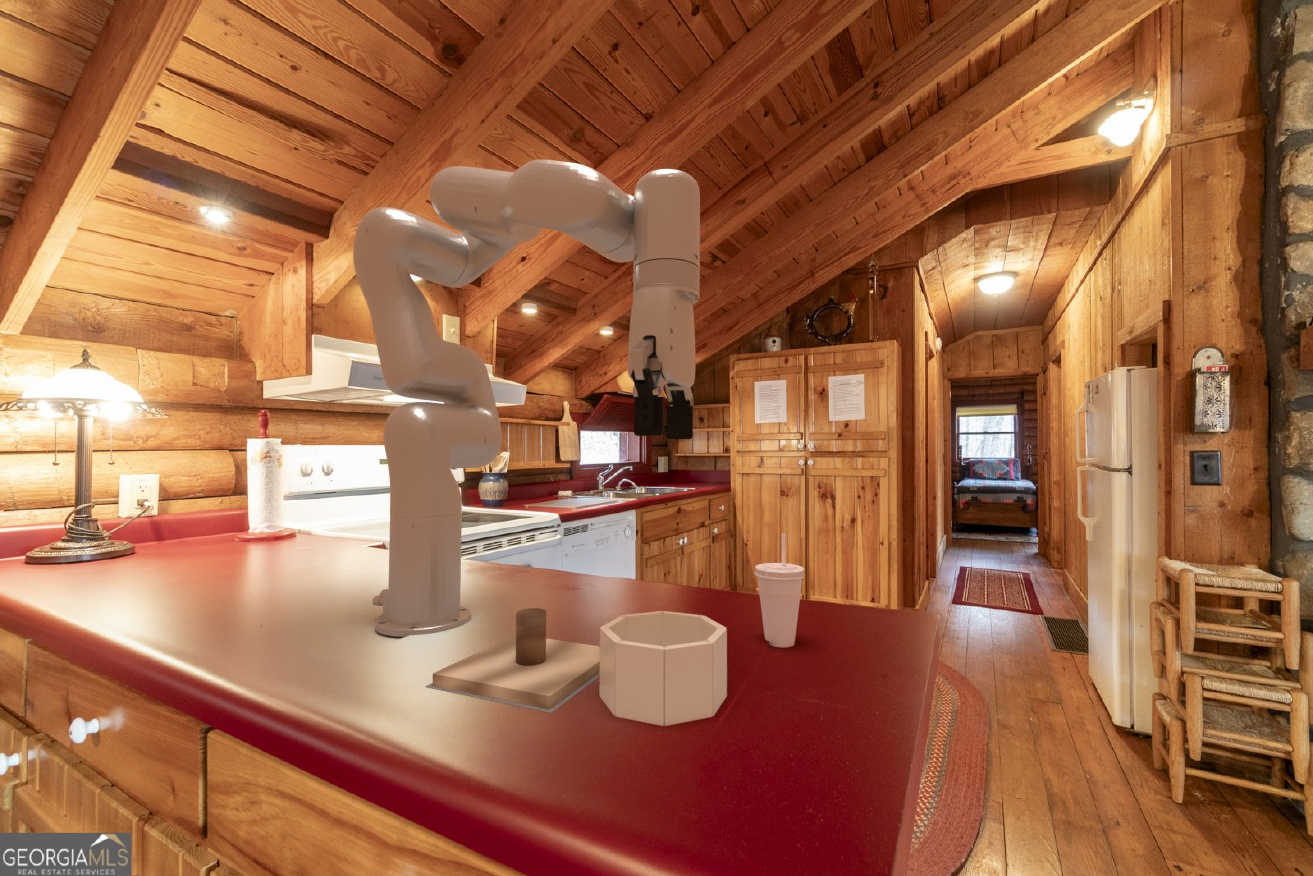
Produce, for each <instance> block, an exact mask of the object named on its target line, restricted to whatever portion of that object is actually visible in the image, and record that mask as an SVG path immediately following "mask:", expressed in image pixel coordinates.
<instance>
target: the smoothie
mask: <svg viewBox="0 0 1313 876" xmlns="http://www.w3.org/2000/svg"><path fill="white" fill-rule="evenodd" d="M754 575H755V576H757V585H758V594H759V599H760V600H759V601H760V609H761V616H762V626H763V634H764V640H766V641H767V642H768V643H767V644H768V646H771V647H774V648H790V647H793V646H795V644H796V643H795V642H796V636H797V625H798V618H799V608H800V600H801V592H802V582H803V578H805V576H806V574H805V568H804V567H803V566H801V565H798V564H793V563H787V534H786V533H781V562H765V563H760V564H757V565H755V566H754Z"/></svg>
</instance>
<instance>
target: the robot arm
mask: <svg viewBox="0 0 1313 876" xmlns="http://www.w3.org/2000/svg"><path fill="white" fill-rule="evenodd" d="M700 194H701V193H700V186H699V184H698V182H697V181H696V179H695V178H694V177H693V176H692V175H691V174H689V173H687V172H685V171H682V170H679V169H675V168H661V169H655V170H651V171H649V172H647V173H645V174H644V175H643V176H641V177H640V178H639V180H637V182H636V185H635V188H634V195H632V194H629V193H627V192H624V191H623V190H622V189H621V188H620V187H619V186H617V185H616V183H614V182H613V181H611V180H610V179H609V178H607V177H606V176H605V175H604V174H603V173H602V172H600V171H597V170H595V169H594V168H592V167H591V166H590V167H589V166H587V165H584V164H582V163H581V164H580V163H575V162H571V161H563V160H562V161H561V160H552V159H534V160H531V161H529V162H527V163H525V164H524V165H522V166H520V167H519V168H517V169H516V170H514V171H507V170H506V171H504V170H499V169H498V170H497V169H489V168H481V167H472V166H465V165H456V166H454V165H453V166H449V167H445V168H443V169H442V170H440V171H439V172H437V173H436V174H435V175H434V177H433V178H432V180H431V182H430V186H429V200H430V204H431V206H432V208H433V210H434V211H435V213H436V214H437V216H438V217H439V218H440V219H441V220H442V221H444V223H446V224H447V225H448V226H450V227H452V228H453V229H455V230H458V231H460V232H459V233H456V232H454V231H452V230H450V229H449V228H445V227H443V226H441V225H439V224H437V223H435V222H433V221H430V220H429V219H427V218H424V217H422V216H420V215H418V214H415V213H412V212H410V211H407V210H404V209H402V208H397V207H389V206H383V207H382V206H380V207H376V208H373V209H370V210H369V211H368V212H367V213H366V214H364V215H363V217H362V218H361V220H360V222H359V223H358V226H357V228H356V231H355V235H354V240H353V245H352V246H353V247H352V259H353V260H352V261H353V267H354V272H355V276H356V278H357V282H358V285H359V287H360V290H361V292H362V295H363V298H364V300H365V302H366V303H365V304H366V305H367V308H368V311H369V314H370V318H371V323H372V324H371V325H372V329H373V335H374V340H375V344H376V348H377V355H378V358H379V363H380V368H381V372H382V376H383V380H384V382H385V384H386V386H387V388H388V389H389V391H391V392H392V393H394V394H395V395H397V396H400V397H404V398H407V399H415V400H420V401H415V402H408V403H405V404H402V405H400V406H398V407H396V408H395V409H393V411H391V413H390V414H389V415H388V417H387V418H386V420H385V423H384V427H383V445H384V451H385V455H386V461H387V467H388V476H389V541H388V542H389V545H388V547H389V551H388V554H389V555H388V588H387V589H386V588H384V589H383V590H381V591H380V592H379V594H378V595H374V597H373V598H372V601H371V603H372V604H373V606H378V607H382V615H381V616H378V618H377V619H375V623H374V630H375V631H376V632H377V633H379V635H384V636H389V637H398V638H406V637H409V636H420V635H428V634H429V635H430V634H435V633H436V634H437V633H441V632H446V631H449V630H454V629H456V628H459V627H462V626H464V625H466V624H468V623H469V622H470V621H471V619H472V611H471V610H470V609H469V608H467V607H464V606H461V588H462V587H461V582H462V581H461V579H462V578H461V577H462V576H461V572H462V531H463V530H462V522H463V518H462V517H463V511H462V509H463V503H462V502H463V501H462V495H461V490H460V487H459V485H458V483H457V480H456V478H455V476H454V474H453V472H452V469H472V468H473V469H474V468H481V467H485V466H488V465H489V464H491V463H492V462H494V461H495V460H496V458H497V457H498V454H500V451H501V447H502V442H503V437H502V436H503V435H502V426H501V421H500V415H499V412H498V408H497V404H496V399H495V395H494V391H493V388H492V383H491V378H490V375H489V372H488V369H487V367H486V364H485V362H484V360H483V359H482V357H481V356H480V355H479V354H478V353H477V352H476V351H474V350H473V349H472V348H470V347H468V346H465V345H463V344H459V343H455V342H451V341H447V340H444V338H442V337H440V335H439V333H438V330H437V327H436V326H435V322H434V316H433V312H432V308H431V306H430V303H429V301H428V300H427V298H426V296H425V295H424V292H423V291H422V290H421V289H420V288H419V286H418V285H417V284H416V282H415V280H413V278H412V277H411V275H412V276H415V277H417V278H421V279H423V280H427V281H429V282H431V283H435V284H438V285H441V286H444V287H446V288H447V287H448V288H453V289H454V288H461V287H462V288H463V287H465V286H467V285H469V284H471V283H472V282H474V281H475V280H476V279H478V278H479V277H480V276H481V275H482V274H484V273H485V272H487V271H488V270H489V269H490V268H491V267H493V266H494V265H496V264H497V263H498V262H499V261H501V259H503V258H504V257H505V256H507V255H508V254H509V253H510V252H512V250H514V249H515V247H517V246H518V245H519V243H527V242H531V241H532V240H534V239H536V238H537V237H538V236H539V234H540V233H542V231H543V229H546V230H552V231H556V232H558V233H559V232H560V233H562V234H565V235H567V236H569V237H570V238H572V239H574V240H576V241H577V242H580V243H582V245H585V247H586V246H587V247H588V248H590V249H591V250H593V251H594V252H596V253H597V254H599V255H601V256H602V257H604V258H606V259H607V260H609V261H612V262H616V263H627V262H631V261H633V264H632V266H633V268H632V269H633V273H632V274H633V279H632V280H633V281H632V282H633V283H632V284H633V287H632V288H633V291H632V292H633V293H632V295H633V296H632V297H633V298H632V305H631V310H630V311H631V313H630V322H629V335H628V350H627V351H628V353H627V375H628V377H629V379H630V380H631V381H632V382H633V383H634V384H633V387H632V395H633V397H634V398H633V399H634V400H633V404H634V405H633V406H634V407H633V434H634V436H636V437H662V436H663V435H664V434H665V432H666V439H668V440H691V439H693V437H694V402H695V401H694V396H693V394H694V391H695V390H694V389H695V388H694V386H693V385H694V384H695V380H696V336H695V335H696V332H695V315H694V305H695V304H697V303H698V302H699V301H700V298H701V297H700V279H701V277H700V276H701V274H700V267H701V265H700V264H701V263H700V262H701V261H700V260H701V259H700V257H701V256H700V255H701V253H700V251H701V250H700V249H701V247H700V246H701V195H700ZM663 389H665V391H666V395H667V399H668V404H669V406H668V405H667V406H666V424H665V397H664V396H661V395H662V392H663ZM675 391H676V392H675ZM421 400H422V401H421ZM431 401H432V402H431ZM439 402H440V403H439ZM665 425H666V429H665ZM665 430H666V431H665Z"/></svg>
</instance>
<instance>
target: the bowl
mask: <svg viewBox="0 0 1313 876" xmlns="http://www.w3.org/2000/svg"><path fill="white" fill-rule="evenodd" d="M727 631H728V628H727V627H726V626H724V625H722V624H720V623H718V622H717V621H715V620H713V619H711V618H710V617H708V616H706V615H702V614H693V613H687V612H686V613H684V612H676V611H675V612H674V611H670V610H669V611H666V610H657V611H649V612H641V613H639V612H638V613H631V614H622V615H619V616H617V617H616V618H614V619H612V620H611V621H609V622H607V623H605V624H604V625H602V626H600V627H599V646H600V677H599V694H598V695H599V697H600V699H601V700H602V701H603V703H604V704H605V705H606V707H607V708H608V709H609V711H610V712H611V713H612V714H613V717H614V716H615V717H616V718H621V719H626V720H632V721H637V722H641V723H647V724H652V725H657V726H661V727H663V726H665V727H666V726H673V725H677V724H683V723H688V722H692V721H693V722H694V721H698V720H703V719H707V718H713V717H714V716H715V715H716V713H717V712H718V710H719V709H720V707H721V705H723V703H724V701H725V700H726V698H727V697H728V689H727V688H728V657H727V656H728V632H727Z"/></svg>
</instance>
